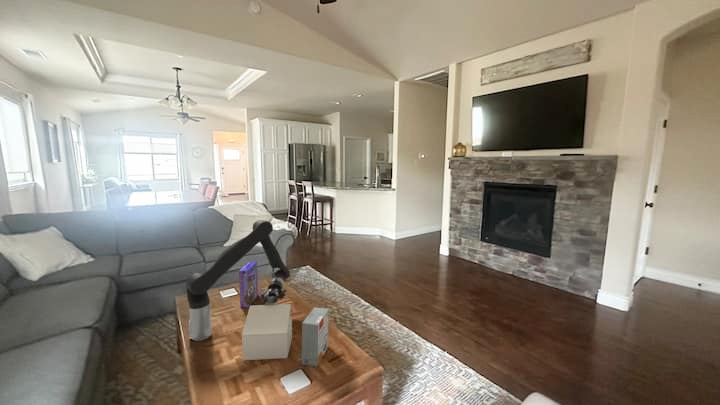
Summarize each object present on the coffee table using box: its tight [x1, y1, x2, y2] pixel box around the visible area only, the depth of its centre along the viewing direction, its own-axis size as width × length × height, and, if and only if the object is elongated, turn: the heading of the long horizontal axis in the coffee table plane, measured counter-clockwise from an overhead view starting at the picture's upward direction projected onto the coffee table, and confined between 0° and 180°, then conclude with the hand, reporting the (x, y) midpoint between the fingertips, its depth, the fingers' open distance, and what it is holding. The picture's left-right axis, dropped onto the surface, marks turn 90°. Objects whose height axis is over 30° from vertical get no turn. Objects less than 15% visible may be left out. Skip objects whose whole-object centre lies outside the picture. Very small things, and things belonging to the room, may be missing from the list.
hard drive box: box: [301, 307, 329, 368], centre depth 135 cm, size 16×8×20 cm, turn 168°
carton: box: [241, 315, 293, 361], centre depth 140 cm, size 20×16×12 cm
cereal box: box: [238, 260, 259, 309], centre depth 187 cm, size 17×5×24 cm, turn 179°
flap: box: [241, 297, 292, 337], centre depth 138 cm, size 20×19×4 cm
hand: (269, 301), depth 142 cm, fingers closed on flap, 4 cm apart
